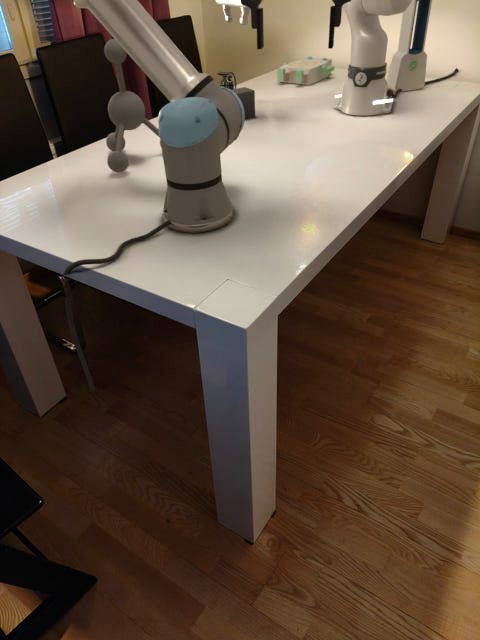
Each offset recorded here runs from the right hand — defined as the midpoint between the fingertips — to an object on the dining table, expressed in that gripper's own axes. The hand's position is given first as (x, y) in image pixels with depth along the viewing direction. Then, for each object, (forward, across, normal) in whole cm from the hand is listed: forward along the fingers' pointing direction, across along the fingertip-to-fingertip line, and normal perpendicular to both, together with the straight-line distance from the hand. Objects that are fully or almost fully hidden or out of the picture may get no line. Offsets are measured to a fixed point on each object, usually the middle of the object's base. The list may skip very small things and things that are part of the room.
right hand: (236, 23), depth 150 cm
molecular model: (+28, -17, +42) cm, 53 cm away
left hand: (-3, -65, +23) cm, 69 cm away
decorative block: (+28, +32, -50) cm, 66 cm away
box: (+28, 0, +9) cm, 29 cm away
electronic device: (+28, -7, -68) cm, 74 cm away
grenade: (+28, +22, -7) cm, 36 cm away
